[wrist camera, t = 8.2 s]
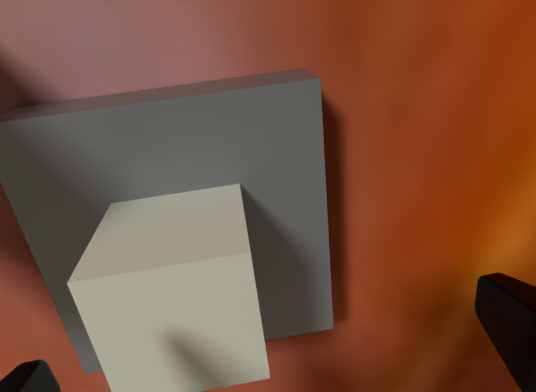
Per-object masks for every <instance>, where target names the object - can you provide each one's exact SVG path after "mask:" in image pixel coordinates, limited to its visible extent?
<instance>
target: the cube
mask: <svg viewBox="0 0 536 392" xmlns="http://www.w3.org/2000/svg"><path fill="white" fill-rule="evenodd" d="M67 285H68V287H69V290H70V292H71V294H72V297H73V299H74V302H75V304H76V306H77V309H78V311H79V314H80V316H81V319H82V321H83V323H84V326H85V328H86V331H87V333H88V335H89V338H90V340H91V343H92V345H93V348H94V350H95V352H96V355H97V357H98V360H99V362H100V364H101V367H102V369H103V372H104V374H105V377H106V379H107V381H108V384H109V386H110V389H111V391H112V392H200V391H206V390H211V389H216V388H221V387H227V386H232V385H237V384H243V383H248V382H253V381H258V380H264V379H269V378H270V373H269V367H268V360H267V354H266V347H265V341H264V334H263V328H262V322H261V315H260V309H259V302H258V296H257V289H256V283H255V277H254V270H253V264H252V257H251V251H250V245H249V239H248V232H247V226H246V220H245V214H244V208H243V201H242V195H241V189H240V184H234V185H227V186H221V187H214V188H208V189H201V190H195V191H188V192H182V193H175V194H169V195H162V196H156V197H149V198H143V199H136V200H130V201H123V202H117V203H111V204H110V206H109V208H108V210H107V212H106V213H105V215H104V217H103V219H102V221H101V222H100V224H99V226H98V228H97V230H96V232H95V233H94V235H93V237H92V239H91V241H90V242H89V244H88V246H87V248H86V250H85V251H84V253H83V255H82V257H81V259H80V261H79V262H78V264H77V266H76V268H75V270H74V271H73V273H72V275H71V277H70V279H69V280H68V282H67Z"/></svg>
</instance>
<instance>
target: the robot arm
mask: <svg viewBox="0 0 536 392" xmlns="http://www.w3.org/2000/svg"><path fill="white" fill-rule="evenodd" d="M475 311H476V315H477V317H478V319H479V321H480V322H481V324H482V326H483V328H484V329H485V331H486V333H487V334H488V336H489V338H490V339H491V341H492V343H493V345H494V346H495V348H496V350H497V351H498V353H499V355H500V356H501V358H502V360H503V362H504V363H505V365H506V367H507V368H508V370H509V372H510V373H511V375H512V377H513V378H514V380H515V381H516V383H517V385H518V386H519V388H520V389H521V390H522V392H536V287H535V286H532V285H530V284H527V283H525V282H522V281H520V280H517V279H515V278H513V277H510V276H508V275H505V274H502V273H493V274H488V275H483V276H481V277H480V278H479V279H478V282H477V290H476V299H475ZM0 392H61V390H60V386H59V384H58V382H57V380H56V378H55V376H54V375H53V373H52V371H51V369H50V367H49V365H48V363H47V362H46V361H44V360H35V361H29V362H24V363H22V364H20V365H18V366H17V367H16V368H15V369H14V370H13V371H11V372H10V373H9V374H8V375H7V376H6V377H4V378H3V379H2V380H1V381H0Z"/></svg>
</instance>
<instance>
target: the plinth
mask: <svg viewBox="0 0 536 392" xmlns="http://www.w3.org/2000/svg"><path fill="white" fill-rule="evenodd" d="M0 182H1V185H2V187H3V189H4V191H5V194H6V196H7V198H8V200H9V203H10V205H11V207H12V209H13V212H14V214H15V216H16V218H17V221H18V223H19V225H20V227H21V230H22V232H23V234H24V236H25V239H26V241H27V243H28V245H29V248H30V250H31V252H32V254H33V257H34V259H35V261H36V263H37V266H38V268H39V270H40V272H41V275H42V277H43V279H44V281H45V284H46V286H47V288H48V290H49V293H50V295H51V297H52V299H53V302H54V304H55V306H56V308H57V311H58V313H59V315H60V317H61V320H62V322H63V324H64V326H65V329H66V331H67V333H68V335H69V338H70V340H71V342H72V344H73V347H74V349H75V351H76V353H77V356H78V358H79V360H80V362H81V365H82V367H83V369H84V371H85V374H88V373H94V372H99V371H103V369H102V367H101V364H100V362H99V360H98V357H97V355H96V352H95V350H94V348H93V345H92V343H91V340H90V338H89V335H88V333H87V331H86V328H85V326H84V323H83V321H82V319H81V316H80V314H79V311H78V309H77V306H76V304H75V302H74V299H73V297H72V294H71V292H70V290H69V287H68V285H67V282H68V280H69V279H70V277H71V275H72V273H73V271H74V270H75V268H76V266H77V264H78V262H79V261H80V259H81V257H82V255H83V253H84V251H85V250H86V248H87V246H88V244H89V242H90V241H91V239H92V237H93V235H94V233H95V232H96V230H97V228H98V226H99V224H100V222H101V221H102V219H103V217H104V215H105V213H106V212H107V210H108V208H109V206H110V204H111V203H117V202H123V201H130V200H136V199H143V198H149V197H156V196H162V195H169V194H175V193H182V192H188V191H195V190H201V189H208V188H214V187H221V186H227V185H234V184H240V189H241V195H242V201H243V208H244V214H245V220H246V226H247V232H248V239H249V245H250V251H251V257H252V264H253V270H254V277H255V283H256V289H257V296H258V302H259V309H260V315H261V322H262V328H263V334H264V341H268V340H273V339H279V338H284V337H290V336H295V335H301V334H306V333H311V332H317V331H322V330H328V329H333V328H334V327H333V308H332V289H331V270H330V251H329V232H328V213H327V194H326V175H325V156H324V137H323V117H322V98H321V79H320V78H319V77H317V76H315V75H314V74H312V73H310V72H308V71H306V70H305V69H297V70H289V71H282V72H274V73H267V74H260V75H252V76H245V77H238V78H230V79H223V80H215V81H208V82H201V83H193V84H186V85H178V86H171V87H164V88H156V89H149V90H141V91H134V92H127V93H119V94H112V95H105V96H97V97H90V98H82V99H75V100H68V101H60V102H53V103H45V104H38V105H31V106H23V107H16V108H14V109H11V110H9V111H7V112H5V113H3V114H0Z"/></svg>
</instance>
